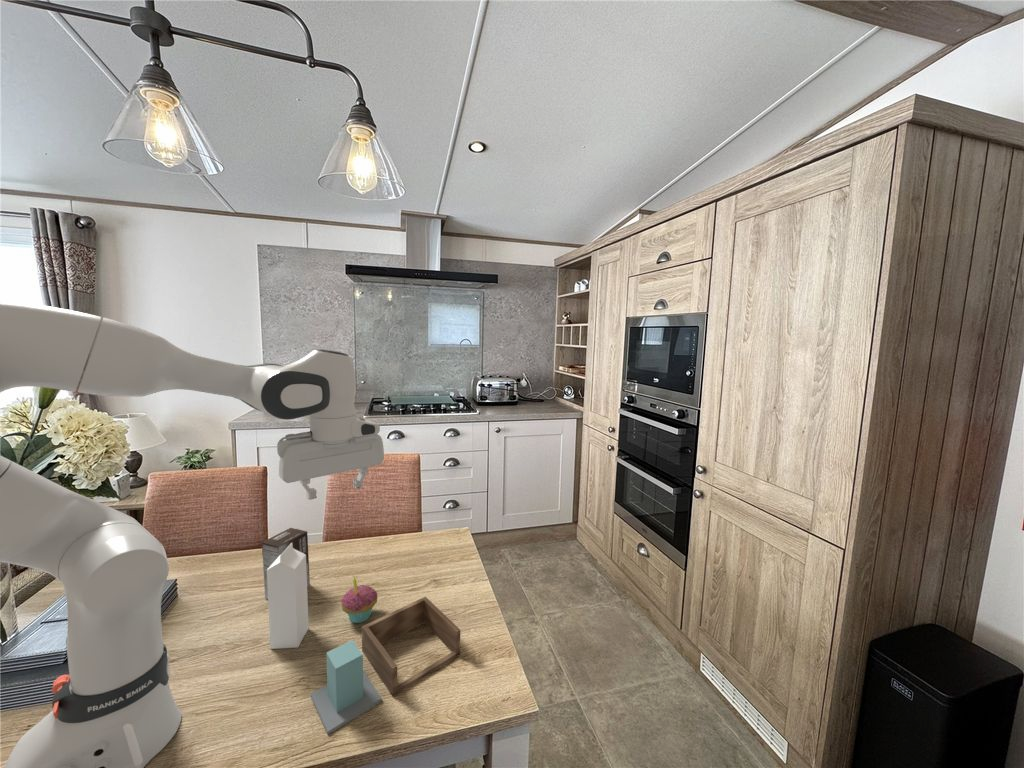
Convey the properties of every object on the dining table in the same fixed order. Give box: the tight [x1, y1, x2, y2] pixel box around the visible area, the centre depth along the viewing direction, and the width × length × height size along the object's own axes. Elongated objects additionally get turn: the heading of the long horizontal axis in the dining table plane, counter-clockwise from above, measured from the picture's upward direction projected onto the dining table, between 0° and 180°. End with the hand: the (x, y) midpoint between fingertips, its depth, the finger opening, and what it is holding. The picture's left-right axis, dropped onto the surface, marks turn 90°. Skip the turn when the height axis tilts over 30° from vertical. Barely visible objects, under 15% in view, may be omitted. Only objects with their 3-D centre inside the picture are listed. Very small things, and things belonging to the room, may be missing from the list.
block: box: [326, 639, 364, 713], centre depth 77 cm, size 5×5×9 cm
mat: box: [310, 669, 383, 735], centre depth 77 cm, size 10×10×1 cm
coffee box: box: [261, 527, 311, 600], centre depth 108 cm, size 9×6×16 cm
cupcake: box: [340, 575, 378, 624], centre depth 99 cm, size 9×8×12 cm
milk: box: [267, 543, 310, 650], centre depth 91 cm, size 6×6×22 cm
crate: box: [361, 596, 461, 697], centre depth 89 cm, size 16×15×6 cm
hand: (335, 492), depth 84 cm, fingers open, 8 cm apart
